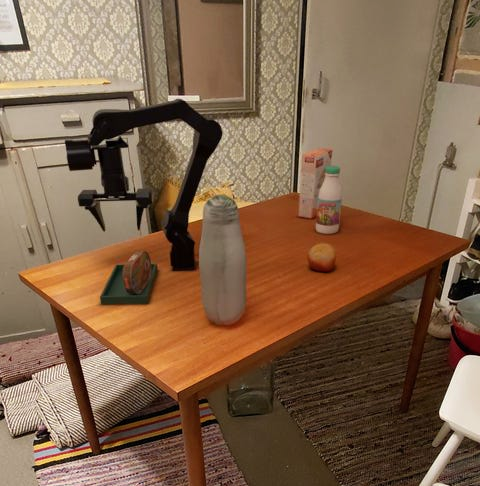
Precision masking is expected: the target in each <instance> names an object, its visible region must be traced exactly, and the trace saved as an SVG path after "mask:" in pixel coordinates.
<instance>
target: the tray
mask: <svg viewBox="0 0 480 486" xmlns="http://www.w3.org/2000/svg"><path fill="white" fill-rule="evenodd" d="M124 264H125V263H124ZM124 264H123V263H119V264H118V263H116V264H115V265H114V267H113V268H112V269H113V270H112V271H111V274H110V275H109V277H108V280H107V282H106V283H105V285H104V287H103V290H102V291H101V294H100V296H99V300H100V305H101V306H112V305H113V306H116V305H117V306H118V305H121V306H122V305H148V304H149V301H150V298H151V294H152V291H153V288H154V285H155V281H156V278H157V275H158V271H159V270H158V269H159V268H158V263H151V266H152V274H151V277H150V280H149V283H148V284H147V286H146V287H145V288H144V290H143V291H142V292H141V294H139V295H137V294H128V293H127V292H126V290H125V286H124V281H123V277H122V271H123V267H124Z"/></svg>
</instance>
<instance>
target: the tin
mask: <svg viewBox="0 0 480 486" xmlns="http://www.w3.org/2000/svg"><path fill="white" fill-rule="evenodd" d="M151 264H152V261H151V257H150V254H149V252H148V251H146V250H142V251H135V252H134V253H133V254H132V255H131V256H130V257H129V258H128V260H127V261H126V262H125V263H124V267H123V271H122V277H123V281H124V286H125V290H126V292H127V293H128V294H137V295H139V294H141V292H142V291H143V290H144V288H145V287H146V286H147V284H148V283H149V280H150V277H151V274H152V266H151Z"/></svg>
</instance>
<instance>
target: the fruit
mask: <svg viewBox="0 0 480 486" xmlns="http://www.w3.org/2000/svg"><path fill="white" fill-rule="evenodd" d="M306 259H307V262H308V264H309V266H310V267H311V270H313V271H316V272H329V271H331V270H332V269H333V268H334V266H335V264H336V261H337V252H336V249H335V248H334V247H333V245H332V244H330V243H326V242H323V243H320V242H319V243H317V244H315V245H314V246H312V247H311V248H309V250H308V252H307V254H306Z"/></svg>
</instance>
